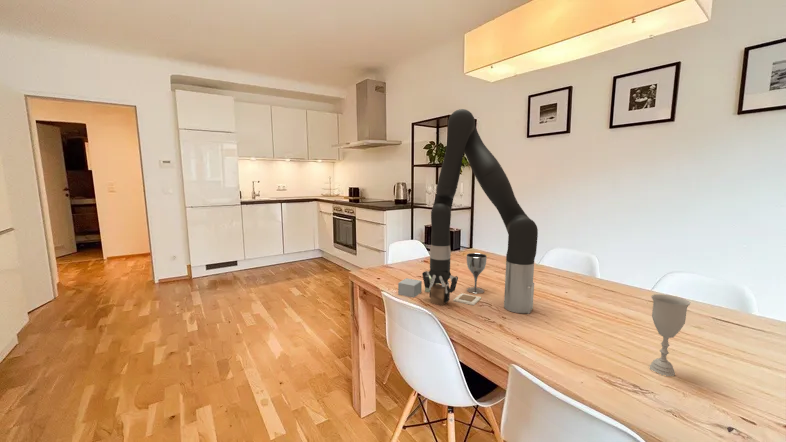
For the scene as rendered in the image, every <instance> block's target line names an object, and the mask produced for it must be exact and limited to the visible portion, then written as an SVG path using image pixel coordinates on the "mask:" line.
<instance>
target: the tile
mask: <svg viewBox="0 0 786 442" xmlns="http://www.w3.org/2000/svg"><path fill="white" fill-rule="evenodd" d="M481 299H482V297H481V296H477V295H472V294H468V293H460V294H459V295H456V297H455V298H453V302H457V303H460V304H466V305H470V306H475V305H476V304H477V303H478V302H479V301H480V300H481Z"/></svg>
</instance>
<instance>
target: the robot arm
mask: <svg viewBox="0 0 786 442" xmlns="http://www.w3.org/2000/svg"><path fill="white" fill-rule="evenodd" d="M445 148H446V149H445V153H444V156H443V160H442V164H441V169H440V173H439V176H438V181H437V185H436V194H435V197H434V201H433V206H432V208H431V210H430V211H431V212H430V223H431V232H430V249H429V271H427V270H425V271H423V272H422V273H421V274H422V275H421V276H422V280H423V284H424V288H425V287H426V288H428V289H429V290H430V292H428V293H429V298H430V295H431V287H433V286H434V285H436V283H439V284H440V285H442V287H443V288H444V291H445V293H444V303H446V304H447V303H448V302H449V301H450V299H451V298H450V297H451V294H452V293H454V292H455V290H456V287H457V284H458V279H459V276H457V275H456V276H454V275H452V273H451V257H452V256H451V253H452V252H451V232H450V230H451V220H452V209H453V202H454V197H455V195H456V192H457V189H458V185H459V181H460V176H461V169H462V163H463V158H464V155H465V157H466V159H467V161H468V164H469V166H470V168H471V171H472V173H473V175H474V177H475V179H476V180H477V182H478V184H479V186H480V188H481V189H482V190H483V192H484V193H485V195H486V196H487V198H488V199H489V201H491V203H492V205H493V206H494V207H495V208H496V209H497V211H498V213H499V215H500V217H501V219H502V222H503V224H504V227H505V229H506V231H507V236H508V237H507V251H506V254H505V255H506V257H505V258H506V259H505V281H504V296H503V297H504V299H503V307H504V309H505V310H506V311H509V312H512V313H517V314H528V315H529V314H531V312H532V310H533V307H534V295H535V283H534V273H535V272H534V270H535V259H536V255H537V247H538V237H539V236H538V234H539V233H538V231H539V230H538V226H537V224H536V223H535V221H534V220H533V219H531V218H530V217H529V216H528V215H527V214H526V212H525V211H524V210H523V208H522V206H521V204H519V202H518V200H517V198H516V196H515V192H514V190H513V187H512V184H511V182H510V180H509V178H508V176H507V174H506V171H504V169H503V167H502V165H501V164H500V162H499V161H498V159H497V158H496V157H495V156H494V154H493V153H492V152H491V151H490V150H489V149H488V148H487V146H486V145H485V143H484V142H483V140H482V138H481V135H480V134H479V132H478V130H477V127H476V120H475V117H474V115H473V113H472V112H471V111H469V110H468V109H463V108H460V109H459V108H458V109H457V110H455V111H454V112H452V113H451V114H450V116H449V117H448V120H447V139H446V146H445ZM429 275H430V276H431V278H432V280H431V283H430V280H429ZM449 280H450V282H449Z"/></svg>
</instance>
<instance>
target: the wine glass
mask: <svg viewBox="0 0 786 442" xmlns="http://www.w3.org/2000/svg"><path fill="white" fill-rule="evenodd" d="M487 257H488V256H487V254H484V253H479V252H470V253H467V254H466V265H467V268H468V270H469V271H470V273H471V274H472V275H473V279H474V286H473V287H468V288H466V291H467V292H468V293H471V294H483V293H485V290H484V289H482V288H480V287H477V283H478V278H479V276H480V275H481V273H483V272H484V270H485V269H486V266H487Z"/></svg>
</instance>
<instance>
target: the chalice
mask: <svg viewBox="0 0 786 442" xmlns="http://www.w3.org/2000/svg"><path fill="white" fill-rule="evenodd" d="M650 297H651V299H652V301H653V302H652V303H653V304H652V312H651V318H652V321H653V324H654V326H655V329H656V330H657V333H658V335H660V336H661V337H662V342H661V343H660V345H661V347H662V348H661V349H660V350H659V352H660V355H661V357H659V358H654V359H653V361H652V362H651V363H650V364H649V366H650V368H649V370H651V371H652V370H653V371H655V372H657V373H659V374H661V375H660V376H663V375H666V376H665V377H667V376H674V375H675V373H676V372H675V368H674V366H673V364H672V363H671V362H670V361H669V360H668V359H667V356H668V355H669V354H670V352H669V350H668V348H669V347H670V343H669V339H671V338H675V337H676V336H677V335H678V334H679V333H680V331H681V329H683V327H684V325H685V323H686V319H687V311H688V307H689V306H690V305H691V304H692V303H691V300H688V299H686V298H683V297H680V296H676V295H670V294H664V293H663V294H660V293H657V294H653V295H650ZM653 371H652V372H653ZM655 372H654V373H655ZM657 373H656V374H657ZM659 374H658V375H659ZM674 377H675V376H674Z"/></svg>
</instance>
